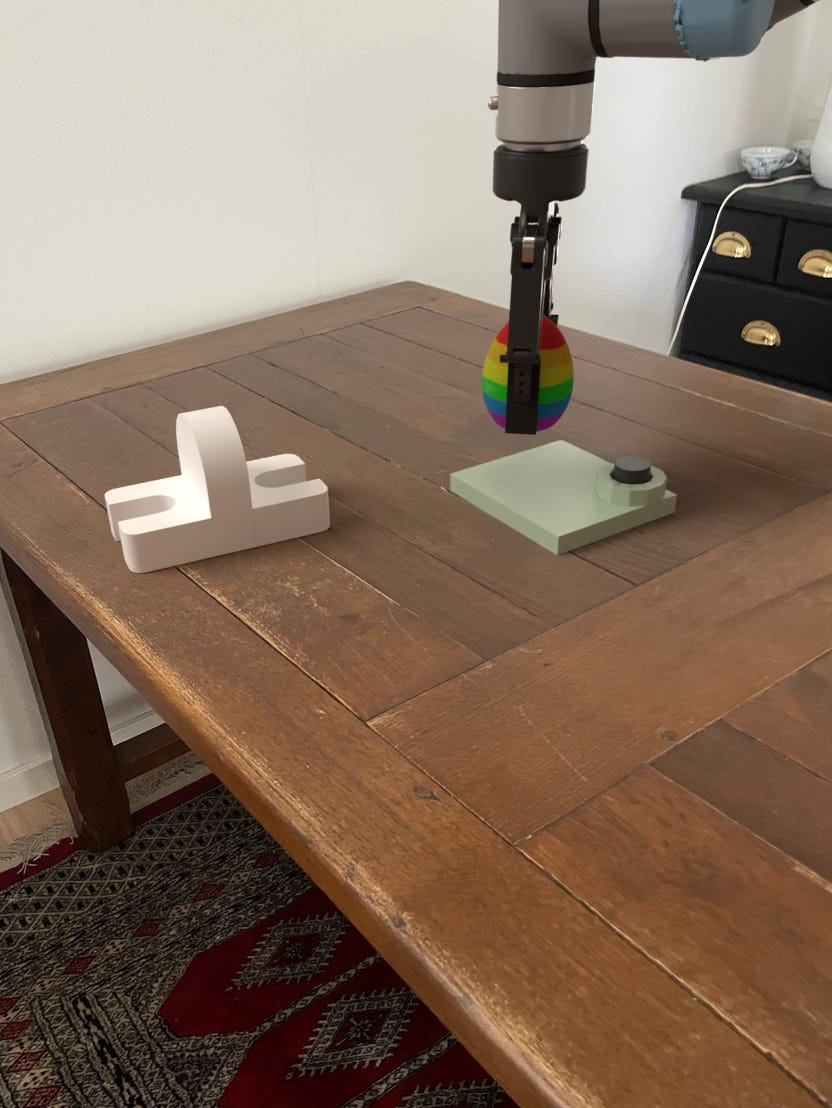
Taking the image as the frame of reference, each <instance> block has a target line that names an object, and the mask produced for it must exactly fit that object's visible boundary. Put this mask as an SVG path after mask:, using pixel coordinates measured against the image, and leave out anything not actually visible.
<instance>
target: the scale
mask: <svg viewBox="0 0 832 1108" xmlns="http://www.w3.org/2000/svg"><path fill="white" fill-rule="evenodd" d="M614 464H615V462H613V463H612V462H609V461H608V460H605V459H604V458H601V457H599V456H597V455H595V454H594V453H591V452H588V451H586V450H584V449H582V448H580V447H578V446H576V445H574V444H571V443H570V442H567V441H566V440H563V439H559V440H556V441H552V442H549V443H546V444H543V445H539V446H536V447H533V448H530V449H526V450H523V451H520V452H517V453H514V454H509V455H507V456H504V457H501V458H497V459H494V460H490V461H488V462H487V461H486V462H484V463H481V464H477V465H473V466H471V467H468V468H464V469H460V470H458V471H455V472H451V473H450V475H449V477H450V479H449V485H450V486H449V491H450V492H452V493H453V494H455V495H457V496H459V497H460V498H461V499H463V500H464V501H466V502H468V503H470V504H471V505H473V506H475V507H476V508H478V509H479V510H481V511H484V512H485V513H486V514H488V515H490V516H492V517H493V518H495V519H496V520H498V521H500V522H501V523H503V524H504V525H506V526H508V527H510V528H511V529H513V530H514V531H517V532H518V533H520V534H522V535H523V536H525V537H526V538H528V539H530V540H531V541H532V542H534V543H536V544H538V545H539V546H541V547H542V548H545V549H546V550H548V551H549V552H551V553H553V554H554V555H556V556H558V555H562V554H565V553H567V552H570V551H573V550H575V549H579V548H581V547H584V546H586V545H589V544H592V543H595V542H597V541H598V542H599V541H600V540H603V539H606V538H608V537H611V536H614V535H616V534H620V533H623V532H624V531H625V532H626V531H628V530H630V529H633V528H636V527H639V526H642V525H644V524H647V523H649V522H652V521H655V520H658V519H661V518H663V517H666V516H669V515H671V514H674V513H675V511H676V504H677V497H678V494H676V493H674V492H673V491H670V490H668V489H666V488H667V481H668V477H667V476H666V474H665V473H664V470H661V469H660V468H658V467H656V466H653V465H651V469H650V476H649V481H648V482H647V483H644V484H635V485H630V484H624V483H619V482H617V481H615V480H614V479H613V474H614Z"/></svg>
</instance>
